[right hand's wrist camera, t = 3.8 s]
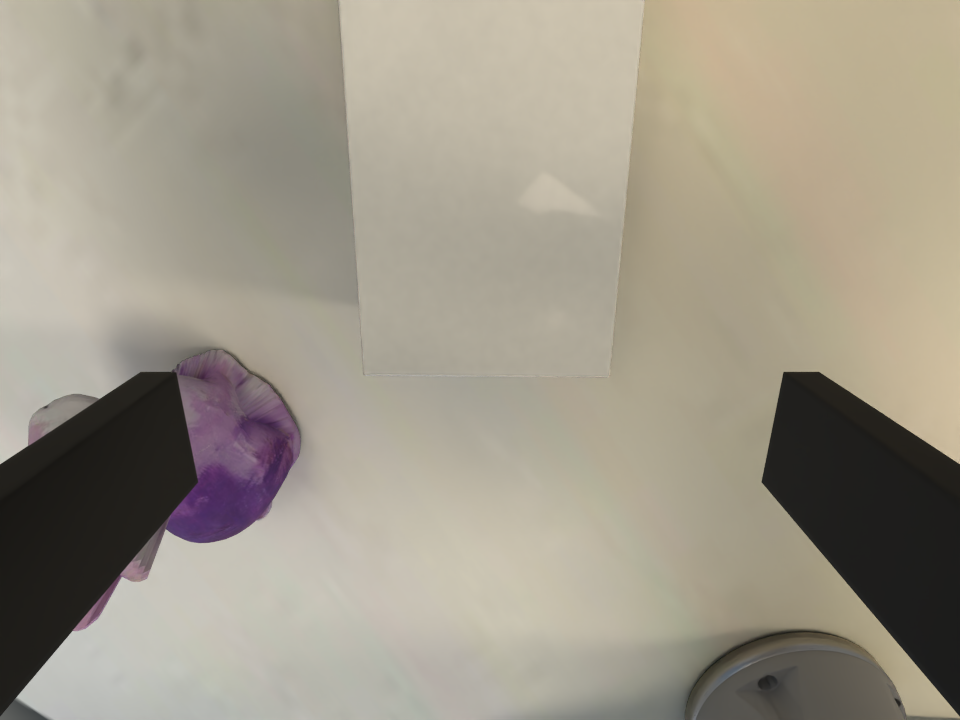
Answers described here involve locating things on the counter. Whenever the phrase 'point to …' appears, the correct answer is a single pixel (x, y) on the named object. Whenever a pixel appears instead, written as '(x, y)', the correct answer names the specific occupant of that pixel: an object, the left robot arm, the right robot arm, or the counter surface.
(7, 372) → the counter surface
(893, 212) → the counter surface
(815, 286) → the counter surface
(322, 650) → the counter surface
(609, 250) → the cabinet
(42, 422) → the figurine
